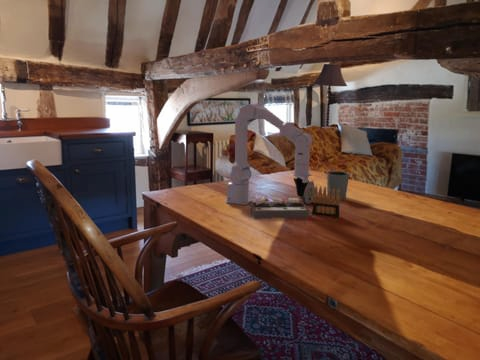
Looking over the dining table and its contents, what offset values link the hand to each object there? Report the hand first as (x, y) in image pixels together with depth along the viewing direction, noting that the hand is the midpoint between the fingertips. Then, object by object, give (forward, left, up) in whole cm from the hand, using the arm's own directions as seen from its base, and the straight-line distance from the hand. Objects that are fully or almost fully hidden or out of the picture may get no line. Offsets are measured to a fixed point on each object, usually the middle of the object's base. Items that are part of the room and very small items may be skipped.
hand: (300, 195), depth 150 cm
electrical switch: (0, +16, -7) cm, 17 cm away
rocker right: (-2, -1, -2) cm, 3 cm away
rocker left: (-15, -7, -2) cm, 16 cm away
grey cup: (+12, +28, -7) cm, 31 cm away
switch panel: (-8, -5, -7) cm, 11 cm away
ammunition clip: (+11, -1, -7) cm, 13 cm away
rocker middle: (-8, -4, -2) cm, 9 cm away
